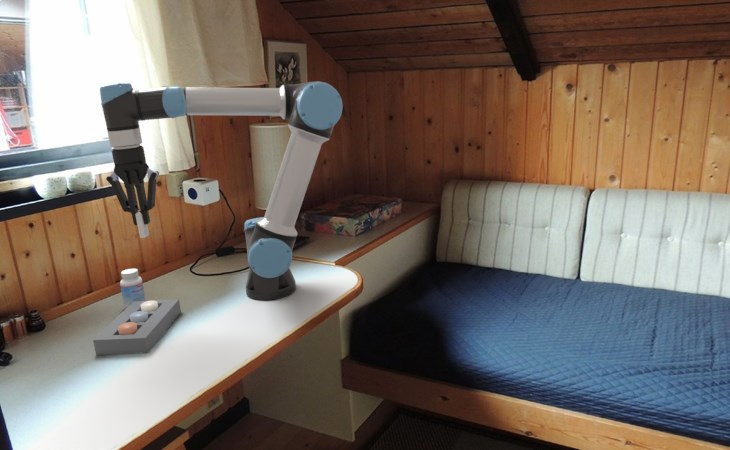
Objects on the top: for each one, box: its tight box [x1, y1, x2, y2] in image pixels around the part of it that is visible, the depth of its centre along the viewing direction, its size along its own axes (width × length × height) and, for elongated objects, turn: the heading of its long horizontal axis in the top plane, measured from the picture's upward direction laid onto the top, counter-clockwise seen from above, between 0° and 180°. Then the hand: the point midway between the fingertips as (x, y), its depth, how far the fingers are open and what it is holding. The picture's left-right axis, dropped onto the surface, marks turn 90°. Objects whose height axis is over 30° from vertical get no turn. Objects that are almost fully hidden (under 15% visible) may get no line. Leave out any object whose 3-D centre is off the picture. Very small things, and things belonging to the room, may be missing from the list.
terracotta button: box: [118, 322, 138, 335], centre depth 145 cm, size 4×4×4 cm
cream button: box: [141, 300, 158, 311], centre depth 158 cm, size 4×4×4 cm
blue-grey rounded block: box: [130, 311, 148, 323], centre depth 152 cm, size 4×4×4 cm
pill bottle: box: [119, 268, 147, 310], centre depth 168 cm, size 6×6×11 cm
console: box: [92, 298, 182, 356], centre depth 152 cm, size 13×24×4 cm, turn 178°
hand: (144, 236), depth 150 cm, fingers closed
